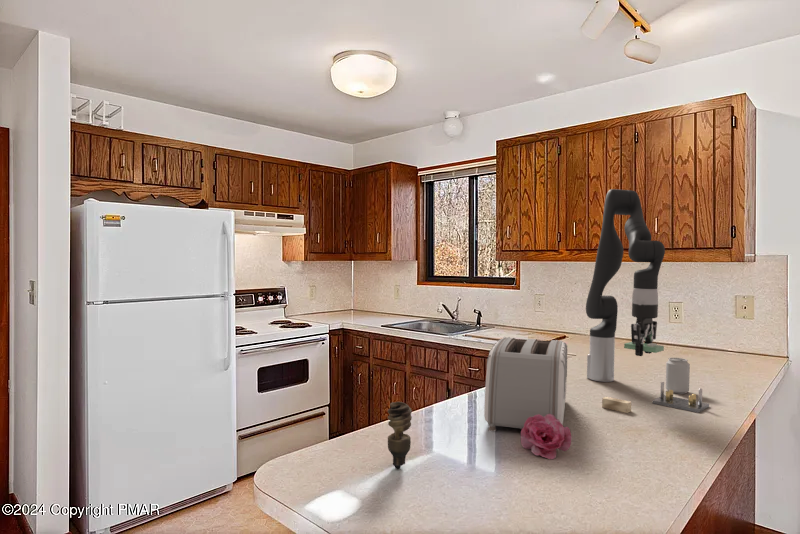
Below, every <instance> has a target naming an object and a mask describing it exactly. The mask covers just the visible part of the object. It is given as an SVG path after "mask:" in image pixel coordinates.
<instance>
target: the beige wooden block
mask: <svg viewBox="0 0 800 534" xmlns="http://www.w3.org/2000/svg"><path fill="white" fill-rule="evenodd" d="M601 403H602V404H601V408H602V409H603V408H604V409H607V410H612V411H616V412H620V413H625V414H628V413H631V411H632V401H630V400H625V399H620V398H615V397H610V396H604V397H602V402H601Z"/></svg>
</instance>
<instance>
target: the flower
mask: <svg viewBox="0 0 800 534" xmlns="http://www.w3.org/2000/svg"><path fill="white" fill-rule="evenodd" d="M520 430H521V431H520V444H521V446H522V448H523V449H526V450H531V453H532V454H534V455H535V456H541V457H542V458H546V459H548V460H553V459H555V458H557V449H558V450H560V451H563V452H567V451H569V450H570V447H571V445H572V440H573V439H572V438H573V437H572V433H571V429H570V427H569V426H564V424H563V425H562V424H561V422H560V421H559V419H556V418H555V416H554V415H552V414H547V415H546V416H544V417H543V416H541V415H540V414H538V415H534V416H533V417H529V418H527V420H526V421H525V423H524V427H523V428H522V429H520Z"/></svg>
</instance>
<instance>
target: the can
mask: <svg viewBox="0 0 800 534" xmlns="http://www.w3.org/2000/svg"><path fill="white" fill-rule="evenodd" d="M688 361H689V360H688V359H686V358H683V357H682V358H681V357H669V358H668V360H667V361H666V362H665V389H666V391H669V390H673V394H678V395H681V394H682V395H683V394H684V395H685V394H687V393H689V391H690V367H691V366H690V363H689V362H688Z"/></svg>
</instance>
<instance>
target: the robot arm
mask: <svg viewBox="0 0 800 534" xmlns="http://www.w3.org/2000/svg"><path fill="white" fill-rule="evenodd" d="M615 215H618V216H621V215H622V216H629V217H628V219H627V220H626V222H625V224H624V233H625V236H626V237H627V240H628V257H629V259H630V260H631V261H632V262H635V263H649V265H648V267H646V268H643V269H637V270H635V271H634V273H633V288H632V289H633V290H632V299H631V301H632V302H631V316H632V317H633V318H636V321H635V323H631V325H630V329H631V331H630V332H631V333H630V334H631V335H630V337H631V342H634V343H635V351H634V352H635V353H634V354H635V356H636V357H642V356H643V357H644V354H652V353H653V352H647V351H643V343H646V344H650V343H653V342H654V340H656V338H657V328H658V321H656V320H653V319H657V318H658V317H659V316H658V314H659V310H658V309H659V291H658V284H659V283H658V281H659V274H660V270H661V266H662V263H663V260H664V257H665V255H666V248H665V245H664V244H663V243H662V241H660V240H652V233H651V232H650V230H649V227H648V226H647V224H646V221H645V218H644V212H643V208H642V204H641V200H640V196H639V194H638V192H637V191H635V190H631V189H618V188H611V189H609V190H608V191H607V193H606V195H605V200H604V205H603V218H602V223H601V224H602V226H601V233H600V238H599V242H598V247H597V252H596V256H595V264H594V270H593V275H592V281H591V284H590V287H589V291H588V295H587V299H586V304H585V313H586V316H587V317H588V318H589V319H591V320H601V322H600V323H599V324H597V325H595V326H592V327H591V328H589V329H590V330H589V353H588V354H587V356H586V357H587V358H586V361H587V362H586V379H590V380H592V381H594V382H595V381H596V382H601V383H603V382H605V383H608V382H609V383H610V382H614V381H615V340H616V339H615V337H616V331H617V324H618V323H617V322H618V301H617V299H616V298H615V296H613V295H603V293H604V291H605V288H606V286H607V284H608V283H609V282H610V281H611V280H612V279H613V278H614V276H615V275H616V274H617V273H618V271H619V270H620V268H621V267H622V264H623V263H622V262H623V257H624V246H623V244H622V240H621V238H620V237H619V235H618V233H617V230H616V227H615Z"/></svg>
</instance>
